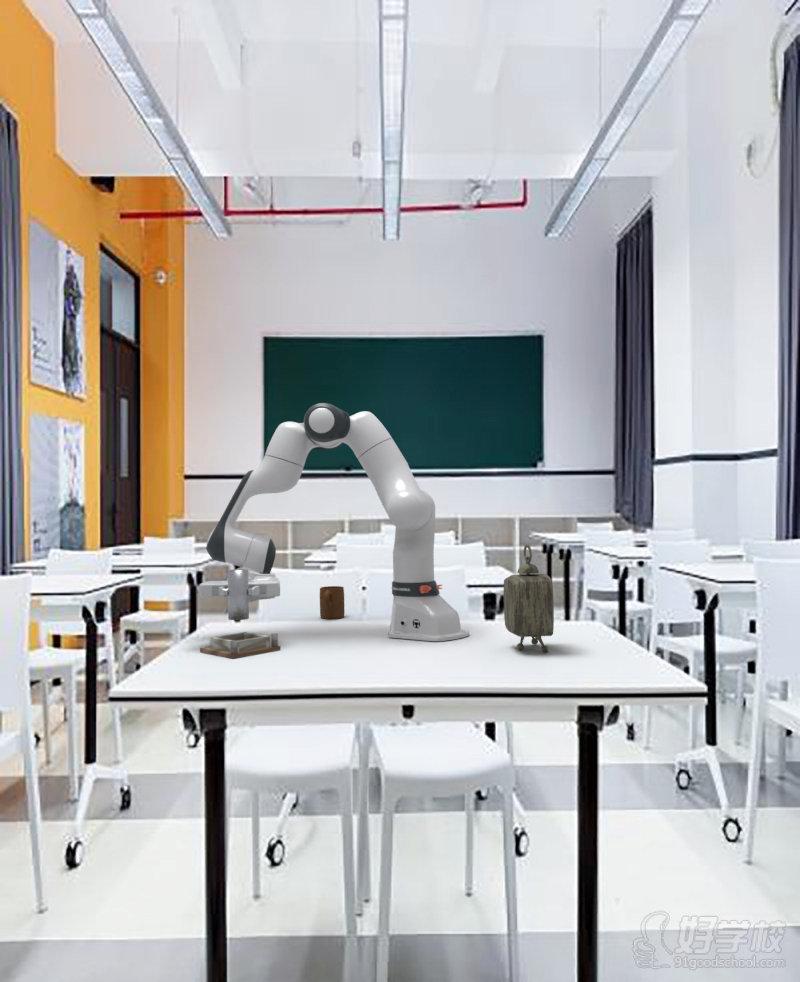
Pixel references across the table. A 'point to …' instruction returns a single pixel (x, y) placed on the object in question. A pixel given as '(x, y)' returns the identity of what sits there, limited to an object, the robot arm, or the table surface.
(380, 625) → the table surface
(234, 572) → the pin
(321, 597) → the mug
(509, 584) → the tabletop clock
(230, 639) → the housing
